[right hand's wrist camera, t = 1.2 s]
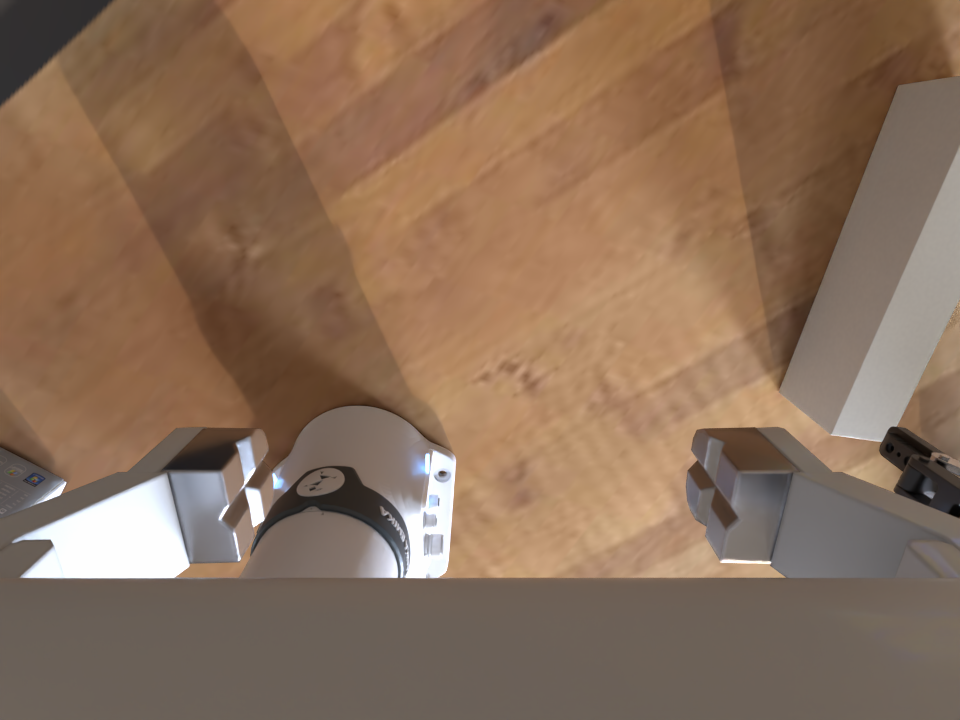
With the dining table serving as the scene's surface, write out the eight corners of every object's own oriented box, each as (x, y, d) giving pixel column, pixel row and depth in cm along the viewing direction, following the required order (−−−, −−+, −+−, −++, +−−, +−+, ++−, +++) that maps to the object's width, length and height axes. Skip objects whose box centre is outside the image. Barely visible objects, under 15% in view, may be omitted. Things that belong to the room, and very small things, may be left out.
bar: (898, 85, 42) (992, 70, 34) (958, 95, 42) (1066, 83, 34) (778, 392, 51) (831, 435, 44) (828, 399, 52) (888, 442, 44)
